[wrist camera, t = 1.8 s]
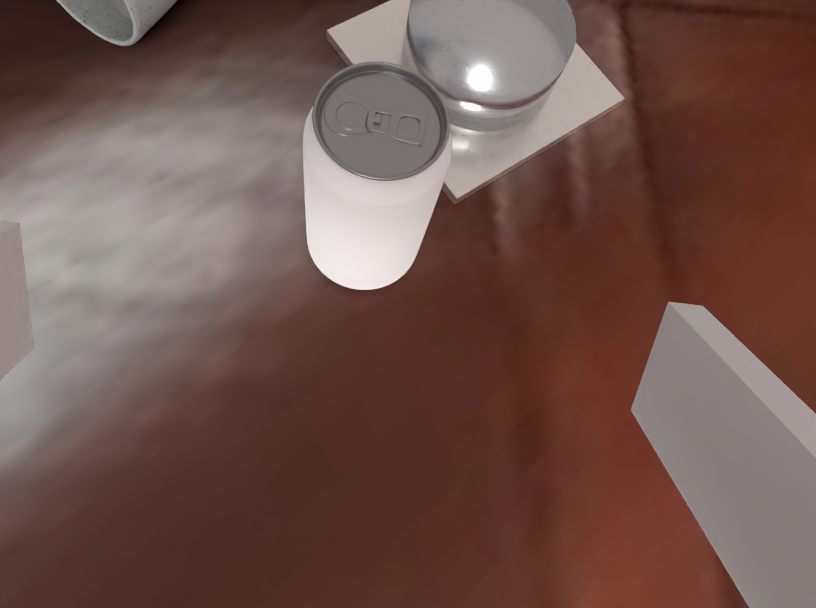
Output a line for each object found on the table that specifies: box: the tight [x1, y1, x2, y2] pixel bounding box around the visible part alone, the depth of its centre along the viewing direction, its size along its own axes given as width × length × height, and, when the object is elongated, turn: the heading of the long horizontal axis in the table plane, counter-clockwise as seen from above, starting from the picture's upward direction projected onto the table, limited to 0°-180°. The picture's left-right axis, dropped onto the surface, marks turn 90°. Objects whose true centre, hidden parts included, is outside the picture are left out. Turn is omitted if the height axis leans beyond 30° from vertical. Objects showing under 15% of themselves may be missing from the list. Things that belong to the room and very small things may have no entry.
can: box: [303, 62, 452, 290], centre depth 32 cm, size 6×6×12 cm
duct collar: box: [327, 0, 625, 205], centre depth 40 cm, size 14×14×5 cm
